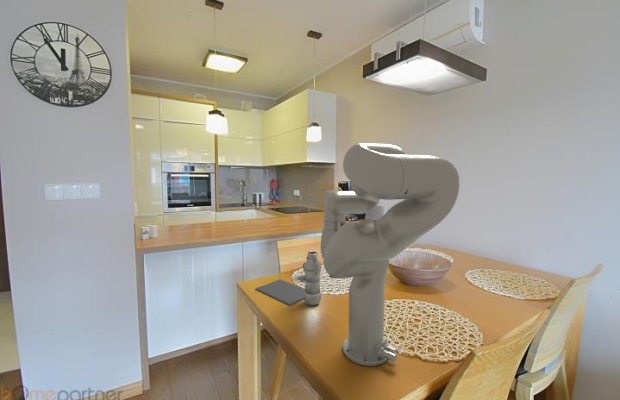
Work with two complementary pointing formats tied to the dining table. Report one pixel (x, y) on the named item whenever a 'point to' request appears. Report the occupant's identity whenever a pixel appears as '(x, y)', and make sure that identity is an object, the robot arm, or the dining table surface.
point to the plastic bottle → (312, 279)
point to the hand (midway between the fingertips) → (334, 276)
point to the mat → (283, 291)
